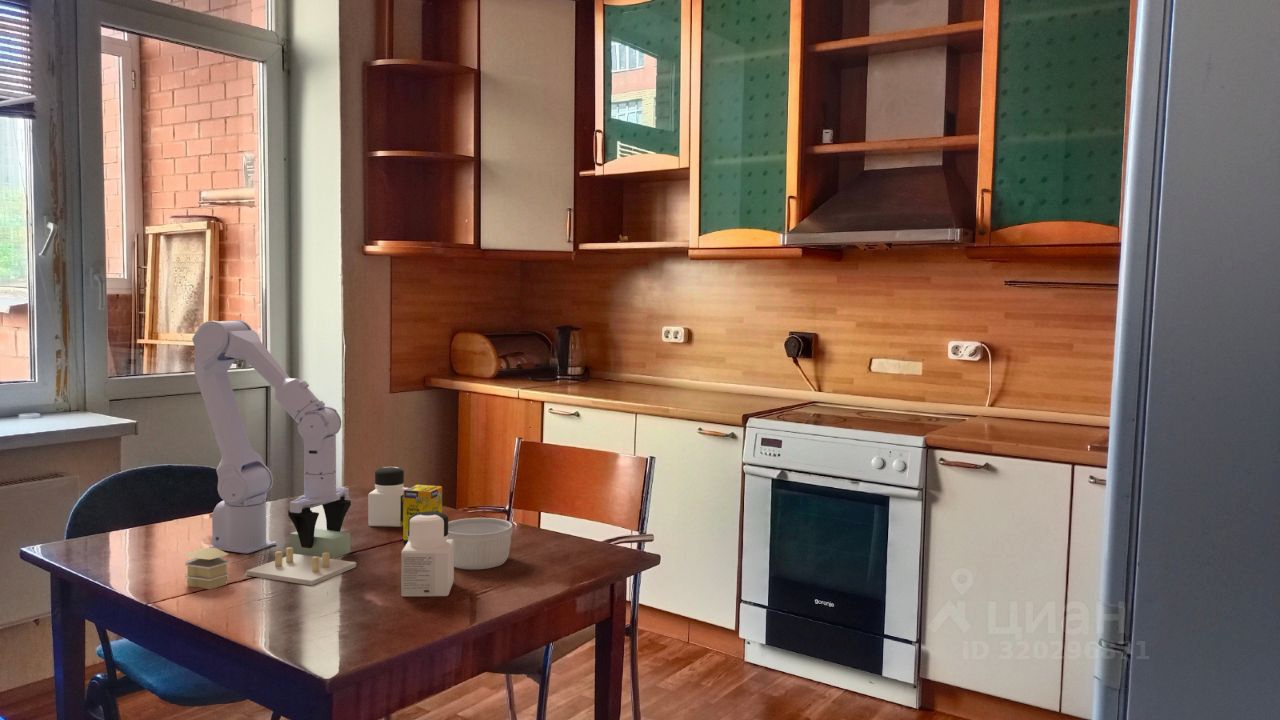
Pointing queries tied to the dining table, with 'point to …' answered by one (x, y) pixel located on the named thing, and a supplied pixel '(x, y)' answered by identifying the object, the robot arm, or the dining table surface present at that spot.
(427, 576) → the container
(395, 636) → the dining table surface
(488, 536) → the ramekin
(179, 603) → the dining table surface
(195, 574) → the beige tiered box
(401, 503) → the medicine bottle
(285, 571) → the cream peg board
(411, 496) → the supplement box
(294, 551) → the rectangular block
